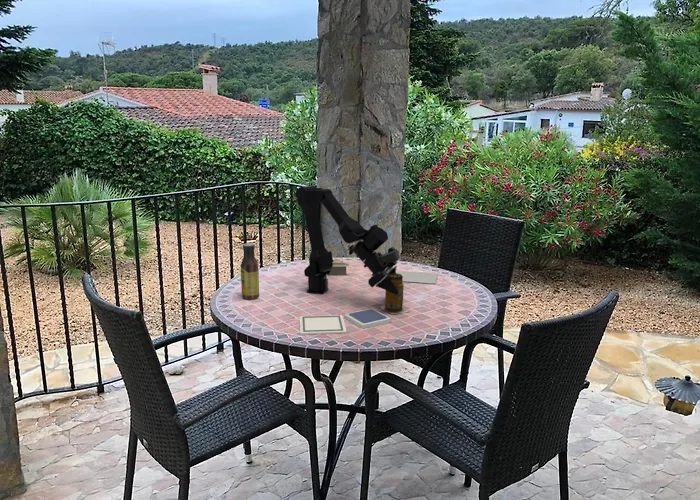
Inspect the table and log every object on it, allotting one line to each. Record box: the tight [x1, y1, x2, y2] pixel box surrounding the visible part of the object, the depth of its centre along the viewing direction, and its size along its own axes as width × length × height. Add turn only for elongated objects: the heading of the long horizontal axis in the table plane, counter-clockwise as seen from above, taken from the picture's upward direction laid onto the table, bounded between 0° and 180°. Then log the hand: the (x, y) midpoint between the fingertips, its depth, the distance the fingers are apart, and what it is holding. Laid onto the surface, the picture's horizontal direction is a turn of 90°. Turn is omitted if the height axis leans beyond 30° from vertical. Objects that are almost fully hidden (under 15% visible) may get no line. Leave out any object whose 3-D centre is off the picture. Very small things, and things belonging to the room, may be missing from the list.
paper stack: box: [396, 270, 438, 284], centre depth 220 cm, size 23×25×1 cm
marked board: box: [299, 314, 347, 336], centre depth 173 cm, size 14×14×1 cm
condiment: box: [379, 272, 411, 315], centre depth 186 cm, size 7×8×12 cm
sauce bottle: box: [240, 242, 260, 300], centre depth 196 cm, size 6×6×20 cm
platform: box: [326, 259, 350, 276], centre depth 226 cm, size 12×18×7 cm, turn 93°
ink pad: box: [343, 308, 392, 330], centre depth 178 cm, size 11×11×2 cm
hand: (399, 290), depth 186 cm, fingers closed on condiment, 6 cm apart
